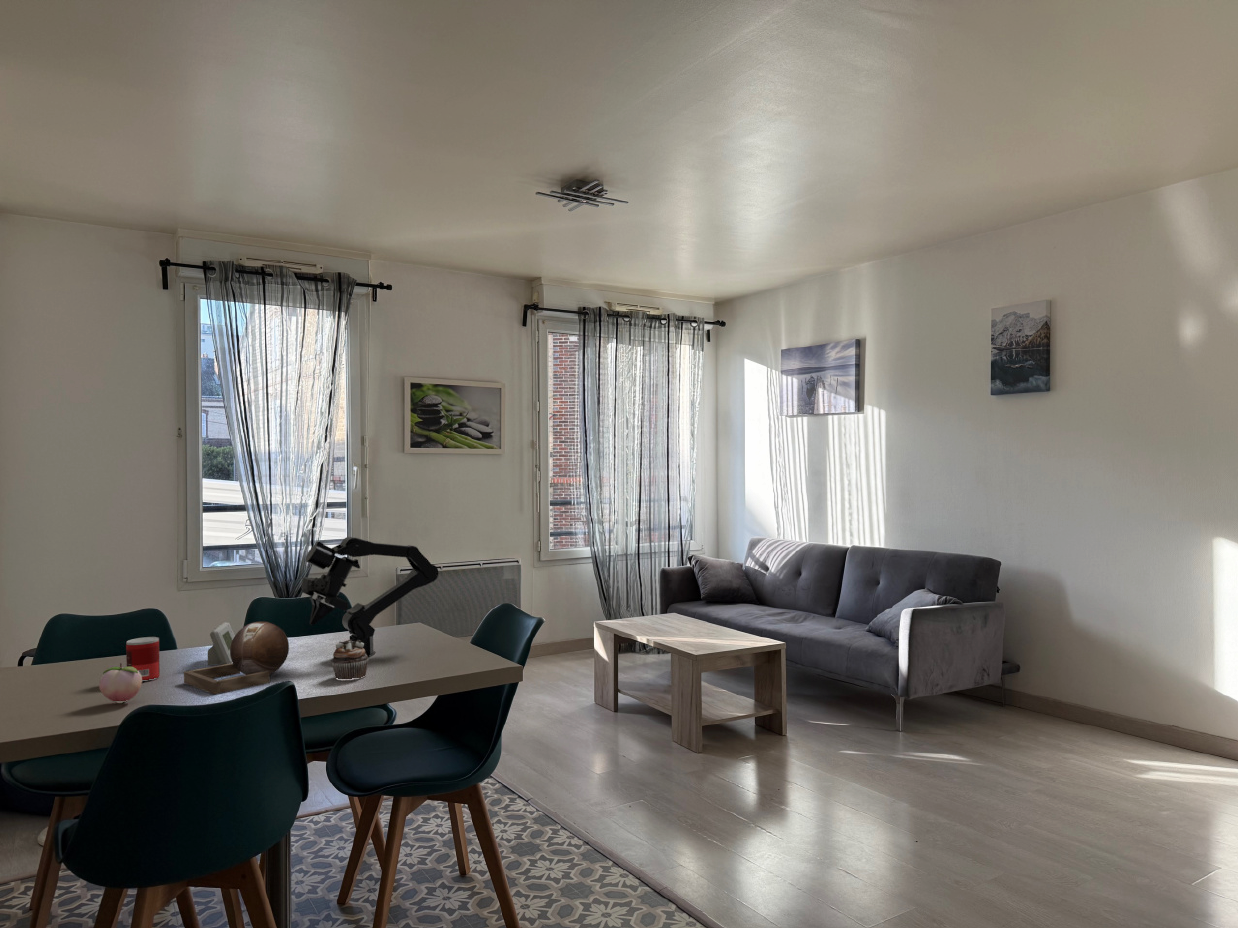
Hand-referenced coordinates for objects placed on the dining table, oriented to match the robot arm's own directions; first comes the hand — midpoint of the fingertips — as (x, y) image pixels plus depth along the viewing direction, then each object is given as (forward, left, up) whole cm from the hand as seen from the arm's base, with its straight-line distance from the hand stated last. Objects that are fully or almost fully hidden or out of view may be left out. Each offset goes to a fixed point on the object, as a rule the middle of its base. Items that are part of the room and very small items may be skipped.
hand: (311, 624), depth 253 cm
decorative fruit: (+31, +41, -11) cm, 53 cm away
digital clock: (+28, -4, -11) cm, 30 cm away
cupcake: (-18, +18, -11) cm, 28 cm away
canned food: (+40, +17, -11) cm, 45 cm away
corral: (+14, +22, -11) cm, 29 cm away
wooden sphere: (+8, +16, -11) cm, 21 cm away
